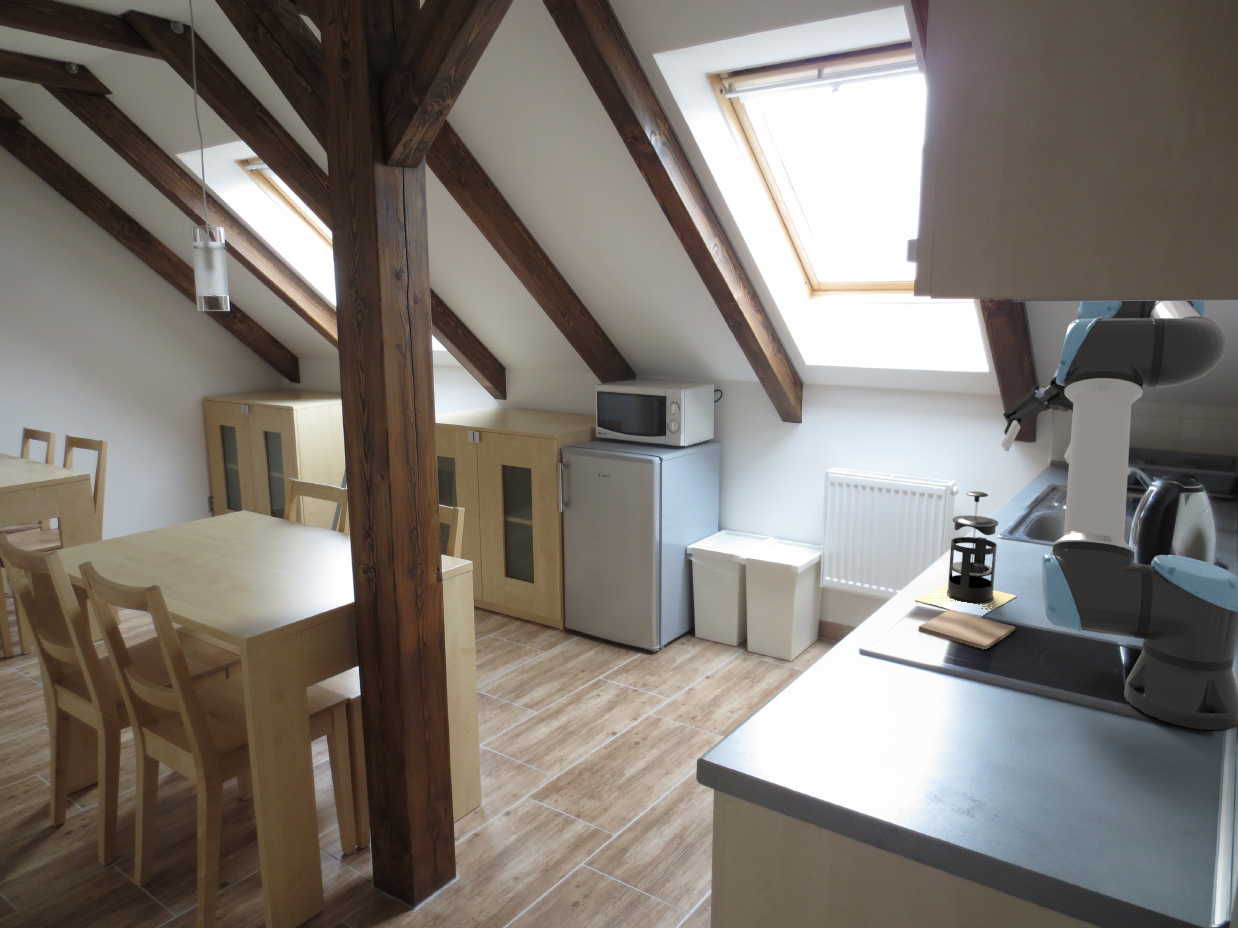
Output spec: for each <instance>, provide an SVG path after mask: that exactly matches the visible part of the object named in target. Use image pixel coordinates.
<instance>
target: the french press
mask: <svg viewBox="0 0 1238 928" xmlns="http://www.w3.org/2000/svg"><path fill="white" fill-rule="evenodd" d="M966 495H967V496H969V497H974V503H975V508H974V509H975V510H974V515H958V516H954V517H953V518H952V522H953V523H954V528H953V529H954V531H959V530H960V529H963V528H965V527H967V528H973V536H961V537H954V538H952V539H951V540H950V553H949V555H950V557H949V569H948V581H947V582H948V583H947V584H948V590H947V595H948V596H949V597H950V598H952V599H954V600H957V601H961V602H967V603H973V604H983V603H989V602H991V601H993V599H994V596H993V590H994V585H995V572H996V571H995V570H996V558H997V547H998V546H997V543H996V542H994V541H992V540H989V539H988V538H986V537H982V536H981V537H980V536H977V537H976V530H977V531H979V532H980V533H981V534H983V535H986V536H991V535H994V534H996V529H997V526H998V525H999V521H998V520H996V519H994V518H990V517H987V516H981V515H977V514H978V503H979V502H980V498H986V497H988V496H989V494H988V493H986V492H983V491H967V492H966ZM958 544H972V547H968V546H967V547H966V546H963V545H958ZM987 547H988V548H987ZM955 552H959V553H962V555H961V561H957V562H954V555H955ZM986 555H992V560H991V562H992V563H991V566H989V565H986ZM953 572H955V573H957V574H955V575H953ZM989 576H990V579H988V578H986V577H989Z"/></svg>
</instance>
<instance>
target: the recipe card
mask: <svg viewBox="0 0 1238 928" xmlns="http://www.w3.org/2000/svg"><path fill="white" fill-rule="evenodd" d="M947 590H948V583H946V584H944V585H942V586H940V587H938V588H936V589H934V590H933V591H934V592H932V591H930V592H929V593H936V591H947ZM937 593H939V594H940V593H942V594H943V593H947V592H937ZM927 594H928V593H926V594H924V595H922V596H920V597H917V598H916V599H914V601H915V602H918V603H921V602H924V603H923V604H925V603H927V604H926V605H929V604H933V605H935V604H936V605H937V604H939V605H941V604H944V603H935V604H934V603H931V602H930V601H932V602H934V601H938V602H939V601H941V602H943V601H947V600H944V598H945V599H947V598H949V599H952V598H950V597H948V595H947V596H946V595H940V596H943V597H931V596H932V595H927ZM934 596H936V595H934ZM937 596H939V595H937ZM944 596H946V597H944ZM993 596H994V599H993V601H991V602H989V603H983V604H982V605H986V604H987V606H982V607H988V608H989V609H990V610H991V611H992V610H993V611H995V610H996V608H997V607H998V608H1000V607H1001V605H1002V606H1003V605H1005V604H1006V603H1009V602H1010V601H1011V600H1014V599H1015V598H1017V597H1018V595H1015V594H1011V593H1008V592H1007V593H1006V592H1003V591H999V590H995V589H993ZM931 599H938V600H931ZM939 599H942V600H939ZM948 601H951V602H952V601H953V600H948ZM955 601H956V600H955ZM945 604H947V603H945ZM978 605H980V604H978ZM991 605H992V606H991ZM999 606H1000V607H999ZM940 607H942V606H940ZM940 607H939V608H940ZM943 607H944V606H943ZM990 607H992V608H990ZM988 608H985V609H986V610H988ZM998 608H997V609H998ZM981 609H983V608H981ZM994 609H995V610H994ZM993 611H992V612H993ZM988 612H990V611H988ZM990 613H991V612H990Z"/></svg>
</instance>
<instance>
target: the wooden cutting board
mask: <svg viewBox="0 0 1238 928" xmlns="http://www.w3.org/2000/svg"><path fill="white" fill-rule="evenodd" d="M1014 630H1015V631H1016V626H1013V625H1010V624H1005V623H1002V622H998V621H995V620H991V619H987V618H984V617H981V618H980V617H977V616H973V615H969V614H966V613H962V612H958V611H955V610H951V609H950V610H946V611H945V612H942V613H941V614H939V615H938V616H936V617H933V618H931V619H930V620H928V621H926V622H924V623H923V624H921V625H919V626H918V631H920V632H923V633H927V634H930V635H934V636H937V637H941V638H944V639H947V640H949V641H950V640H951V641H953V642H957V643H960V644H963V643H964V645H967V646H970V647H973V646H974V648H977V647H978V649H980V648H981V650H984V649H986V650H987V648H988V649H989V648H991V647H992V646H994V645H995V644H997V643H998V642H1000V641H1001V640H1003V639H1005V638H1006V637H1007V636H1009V635H1011V634H1012V633H1013V631H1014ZM1015 631H1014V632H1015ZM1011 632H1012V633H1011ZM990 646H991V647H990Z"/></svg>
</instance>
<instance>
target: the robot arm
mask: <svg viewBox="0 0 1238 928" xmlns="http://www.w3.org/2000/svg"><path fill="white" fill-rule="evenodd" d="M1205 304H1206V303H1205V300H1204V301H1104V302H1081V301H1079V305H1078V308H1077V317H1076V319H1075V320H1073V321H1071V322H1070V323H1069V325H1068V327H1067V329H1066V333H1065V335H1064V336H1065V337H1064V341H1063V345H1062V349H1061V353H1060V359H1059V364H1058V367H1057V368H1056V369H1055V372H1054V373H1053V376H1052V378H1051V380H1050V384H1049V385H1048V386H1047V387H1046V388H1043V387H1039V385H1038V384H1034V385H1033V386H1031V389H1030V390H1029V391H1028V392H1027V393H1026V394H1025V395H1024V396H1022V397H1021V398H1020V399H1018V401H1016V402H1015V403H1014V404H1013V405H1012V406H1011V407H1009V408H1008V409H1007V410H1006V411H1005V412H1004V413H1003V417H1004V419H1005V421H1006V422H1007V425H1006V427H1005V429H1004V436H1005V437H1004V438H1003V440H1002V442H1001V444H1000V445H1001V447H1002V448H1003V450H1004V451H1005V452H1010V449H1011V448H1012V446H1013V444H1014V441H1015V439H1016V437H1017V435H1018V433H1019V432H1020V429H1021V426H1020V424H1022V423H1024V422H1026V421H1027V420H1029V419H1031V418H1033V417H1035V416H1037V415H1038V414H1040V413H1042V412H1046V411H1048V410H1050V409H1051V410H1052V411H1053V410H1054V411H1061V412H1068V411H1071V412H1072V418H1071V419H1072V420H1071V429H1070V431H1071V433H1070V443H1069V445H1068V446H1067V449H1066V450H1065V453H1064V455H1063V459H1065V462H1066V464H1068V473H1067V475H1068V476H1067V486H1066V487H1067V489H1066V500H1065V501H1066V502H1065V515H1064V517H1065V518H1064V529H1063V535H1062V536H1061V537H1060V538H1059V539H1057V540H1055V542H1053V543H1052V551H1051V552H1047V553H1044V554H1042V557H1041V567H1042V568H1041V571H1042V578H1041V579H1042V593H1043V603H1044V611H1045V616H1046V619H1047V620H1048V621H1049V622H1050V623H1051V624H1052V625H1055V627H1056V626H1057V627H1061V628H1066V629H1071V630H1075V631H1077V632H1081V631H1084V632H1085V631H1087V632H1093V633H1100V634H1106V635H1114V636H1119V637H1120V636H1121V637H1127V638H1134V639H1135V638H1136V639H1140V640H1143V643H1142V650H1141V653H1140V655H1139V657H1138V658H1137V660H1136V662H1135V663H1134V666H1133V668H1132V669H1131V671H1130V673H1129V675H1128V676H1127V678H1126V680H1125V685H1124V693H1123V694H1124V695H1123V696H1124V698H1126V699H1125V700H1126V702H1127V703H1128V702H1129V703H1130V704H1129V703H1128V704H1129V705H1131V706H1132V705H1133V706H1134V707H1136V708H1138V709H1139V710H1141V711H1144V712H1146V713H1148V714H1150V715H1152V716H1154V717H1157V718H1158V719H1157V720H1159V721H1162V722H1163V723H1164V722H1165V723H1168V724H1172V725H1176V726H1179V727H1185V728H1188V729H1189V728H1190V729H1197V730H1203V731H1204V730H1206V731H1207V730H1208V731H1209V730H1210V731H1213V730H1214V731H1215V730H1216V731H1218V730H1220V731H1221V730H1226V729H1231V728H1234V727H1235V726H1237V725H1238V687H1237V683H1236V678H1235V675H1234V670H1233V668H1234V659H1235V653H1236V647H1237V640H1238V576H1236V575H1235V574H1234V573H1232V572H1230V570H1227V569H1225V568H1223V567H1220V566H1218V565H1215V564H1212V563H1209V562H1206V561H1203V560H1200V559H1199V560H1198V559H1195V558H1192V557H1187V556H1182V555H1174V554H1168V555H1166V554H1160V555H1159V554H1158V555H1156V556H1154V558H1153V559H1152V560H1151V562H1150V564H1142V563H1135V556H1136V554H1135V550H1134V548H1132V547H1131V546H1130V545H1129V544H1128V543H1127V542H1126V540H1125V531H1126V528H1125V526H1126V513H1127V510H1126V509H1127V492H1128V491H1127V489H1128V474H1129V458H1130V457H1129V454H1130V453H1129V452H1130V436H1131V417H1132V416H1131V415H1132V405H1133V403H1134V402H1136V401H1137V400H1139V399H1140V398H1141V397H1142V396H1143V394H1144V392H1143V391H1144V388H1169V387H1176V386H1181V385H1184V384H1185V385H1186V384H1188V383H1191V382H1193V381H1195V380H1198V379H1200V378H1203V377H1204V376H1205V375H1207V374H1209V373H1210V372H1211V371H1213V370H1214V369H1215V368H1216V367H1217V366H1218V364H1220V362H1221V361H1222V359H1223V357H1224V355H1225V353H1226V348H1227V341H1226V339H1227V338H1226V336H1225V333H1224V332H1223V330H1222V328H1221V327H1220V326H1219V325H1218V324H1217V323H1216V322H1214V321H1213V320H1212V319H1209V318H1208V317H1207V318H1206V317H1204V315H1205V309H1206V308H1205ZM1133 706H1132V707H1133ZM1134 707H1133V708H1134ZM1136 708H1135V709H1136ZM1139 710H1138V711H1139ZM1141 711H1140V712H1141Z"/></svg>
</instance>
